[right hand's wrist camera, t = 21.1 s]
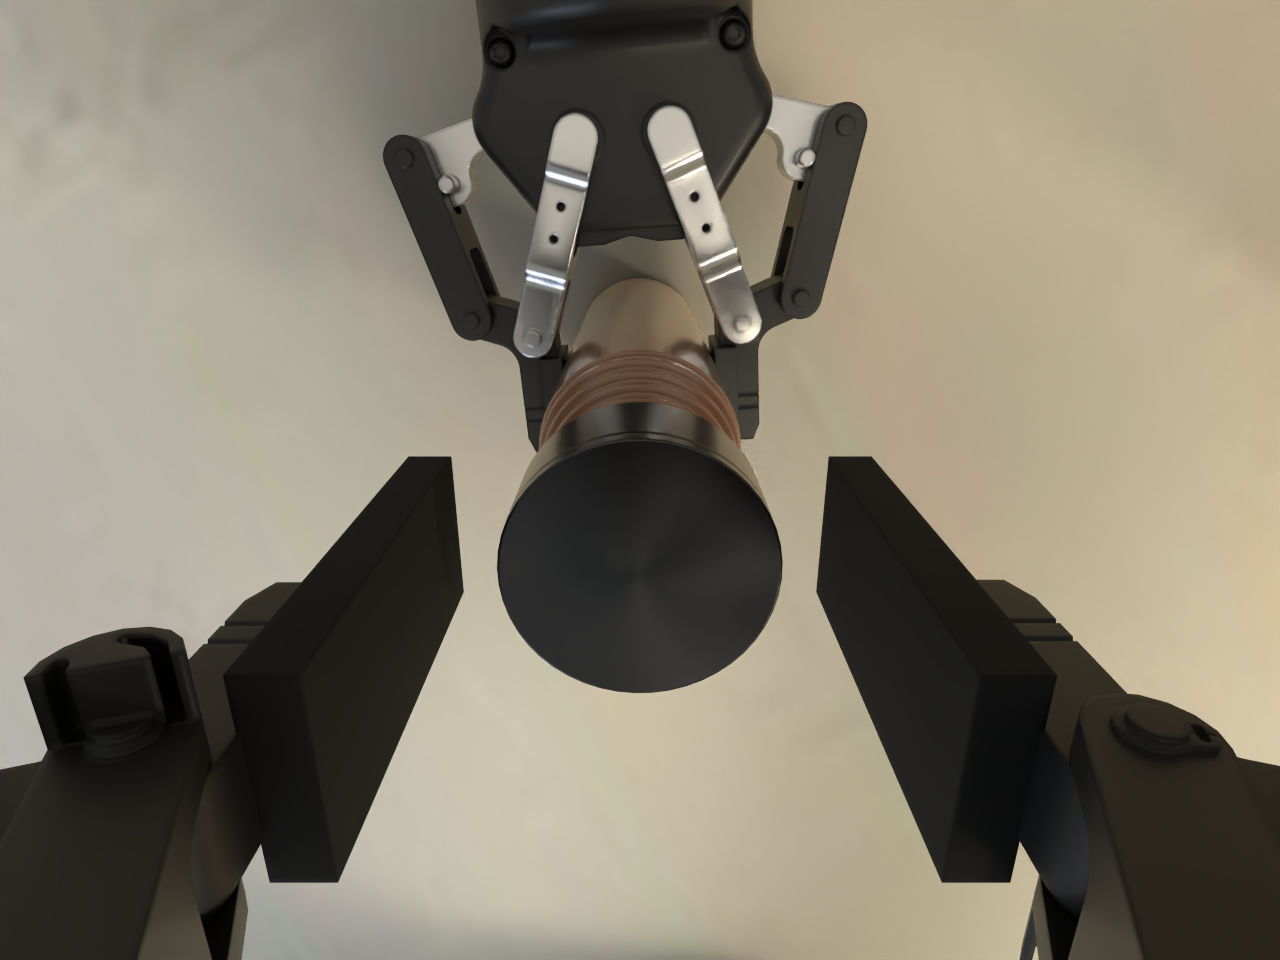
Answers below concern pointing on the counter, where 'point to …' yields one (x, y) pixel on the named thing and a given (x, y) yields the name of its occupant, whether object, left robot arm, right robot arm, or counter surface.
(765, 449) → the counter surface
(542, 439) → the bottle
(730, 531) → the cap
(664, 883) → the counter surface
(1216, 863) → the right robot arm
